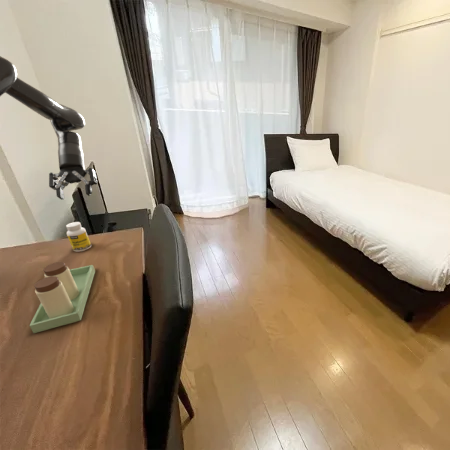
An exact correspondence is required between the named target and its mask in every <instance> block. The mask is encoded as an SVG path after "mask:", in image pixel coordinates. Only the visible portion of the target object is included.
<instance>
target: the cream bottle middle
mask: <svg viewBox="0 0 450 450" xmlns="http://www.w3.org/2000/svg"><path fill="white" fill-rule="evenodd" d="M42 271H43V273H44V274H43V276H44V278H46V277H51V276H56V277H58V279H59V281H61V282H62V284H63V286H64V288H65V290H66V292H67V294H68V296H69V299H70V300H73V299H74V298H76V297H77V296H78V295H79V293H80V292H79V290H78V288H77V286H76V283H75V281H74V279H73V277H72V275H71V272H70V268H69V266H68V265H66V263H65V262H64V261H58V262H53V263H50V264H47V265H46V266H45V267H43V270H42Z"/></svg>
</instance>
